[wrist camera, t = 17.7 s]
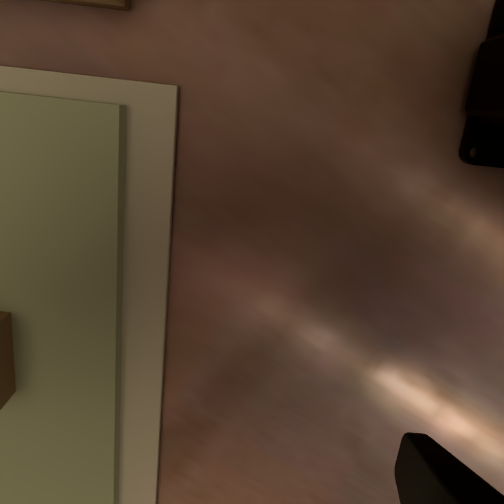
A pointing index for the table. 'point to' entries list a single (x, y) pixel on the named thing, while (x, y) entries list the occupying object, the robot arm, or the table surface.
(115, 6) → the toolbox
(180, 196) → the table surface
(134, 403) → the mat
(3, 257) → the lid
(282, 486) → the table surface
